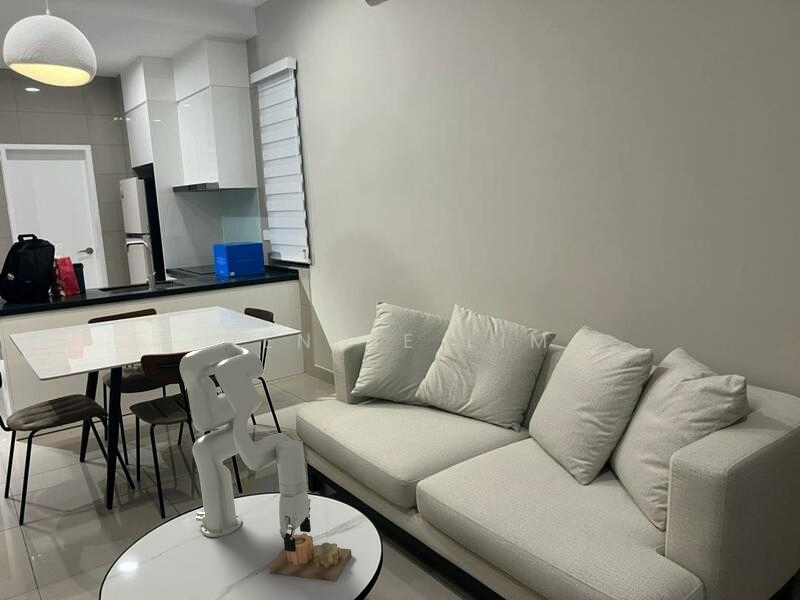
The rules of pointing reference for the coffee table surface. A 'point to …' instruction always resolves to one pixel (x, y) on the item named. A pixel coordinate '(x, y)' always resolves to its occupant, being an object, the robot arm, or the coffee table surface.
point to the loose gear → (301, 550)
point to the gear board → (314, 563)
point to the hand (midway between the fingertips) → (298, 540)
